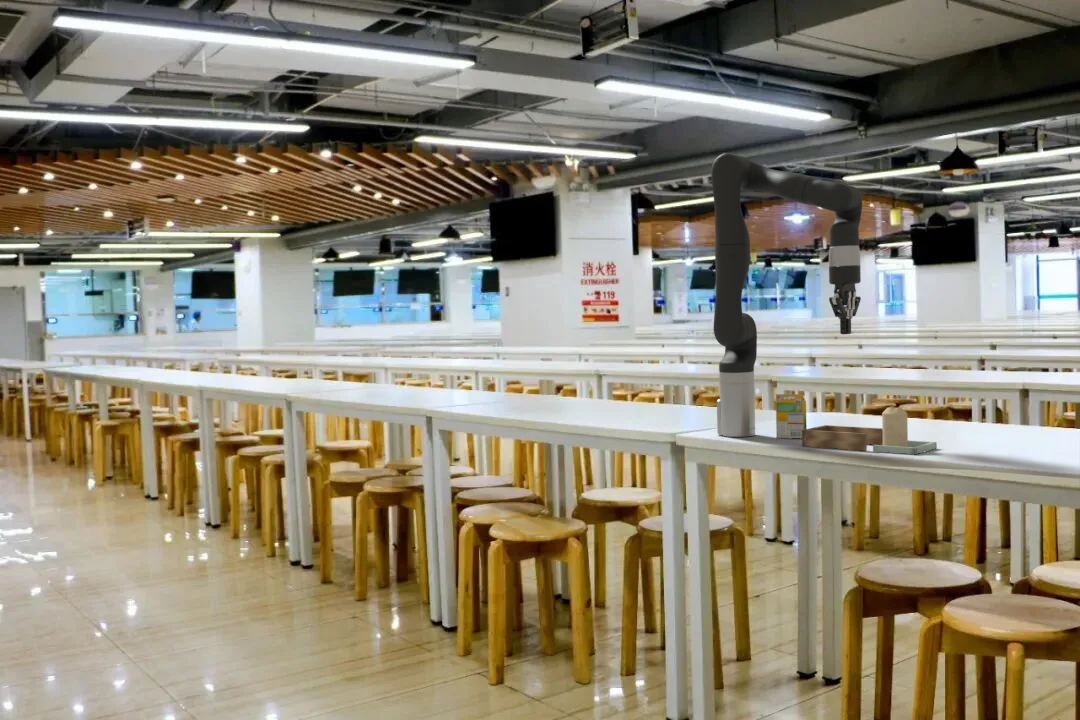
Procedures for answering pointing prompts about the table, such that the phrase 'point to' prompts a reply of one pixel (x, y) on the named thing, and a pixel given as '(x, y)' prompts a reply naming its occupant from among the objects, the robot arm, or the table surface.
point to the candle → (895, 427)
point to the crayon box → (790, 416)
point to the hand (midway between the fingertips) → (845, 334)
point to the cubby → (842, 437)
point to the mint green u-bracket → (912, 448)
